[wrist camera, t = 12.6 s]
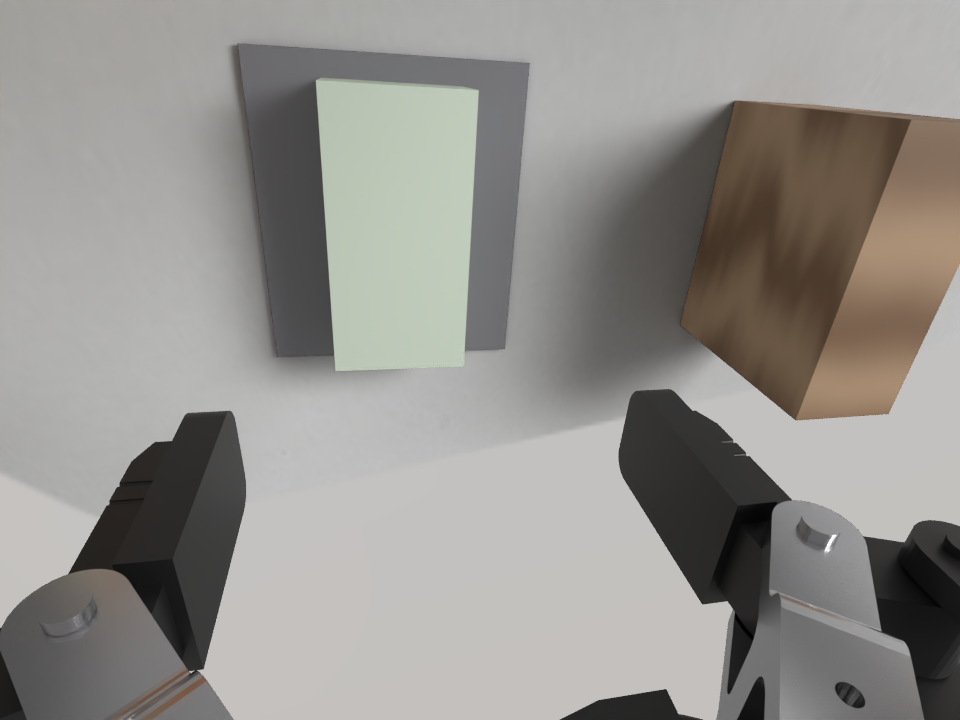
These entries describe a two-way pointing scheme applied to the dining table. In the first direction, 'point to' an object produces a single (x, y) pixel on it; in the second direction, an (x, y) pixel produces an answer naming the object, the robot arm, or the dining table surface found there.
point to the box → (827, 252)
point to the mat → (299, 185)
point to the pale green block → (397, 219)
